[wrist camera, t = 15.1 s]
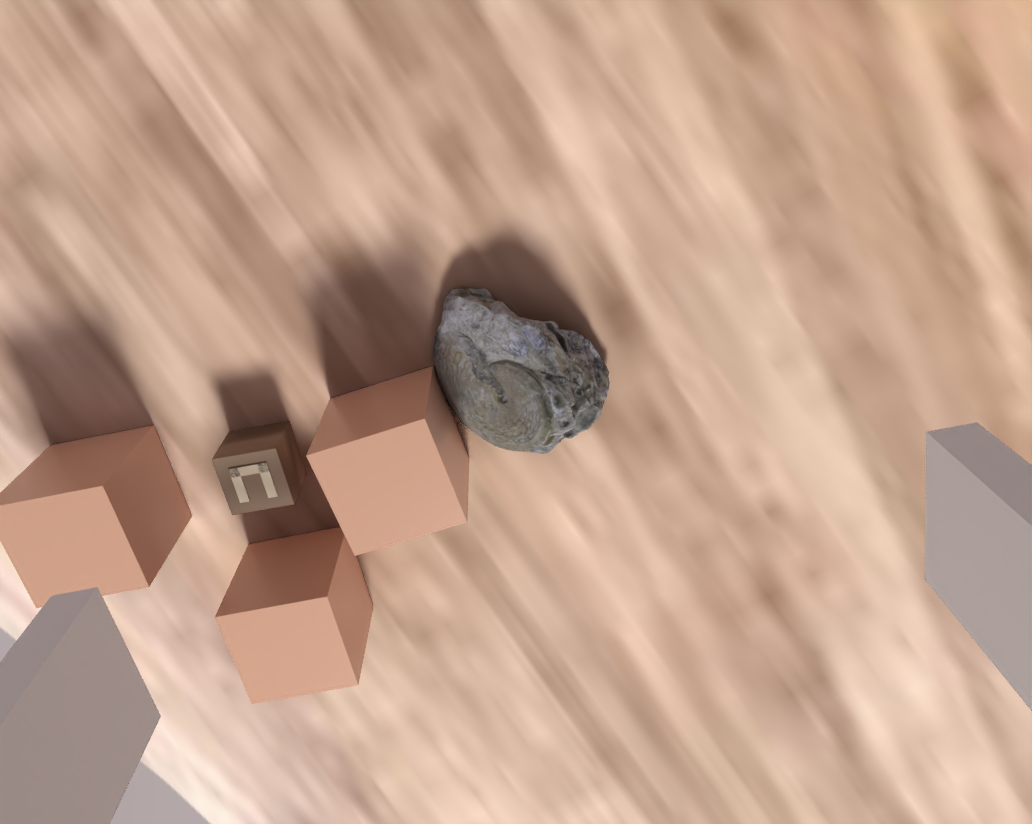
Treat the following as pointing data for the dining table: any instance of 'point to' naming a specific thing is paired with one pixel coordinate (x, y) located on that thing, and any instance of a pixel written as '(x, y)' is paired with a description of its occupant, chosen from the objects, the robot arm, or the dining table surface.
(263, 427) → the letter cube
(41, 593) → the salmon pink box
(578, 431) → the fossilized seashell
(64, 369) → the dining table surface
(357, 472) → the peach colored cube
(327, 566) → the cover mid
